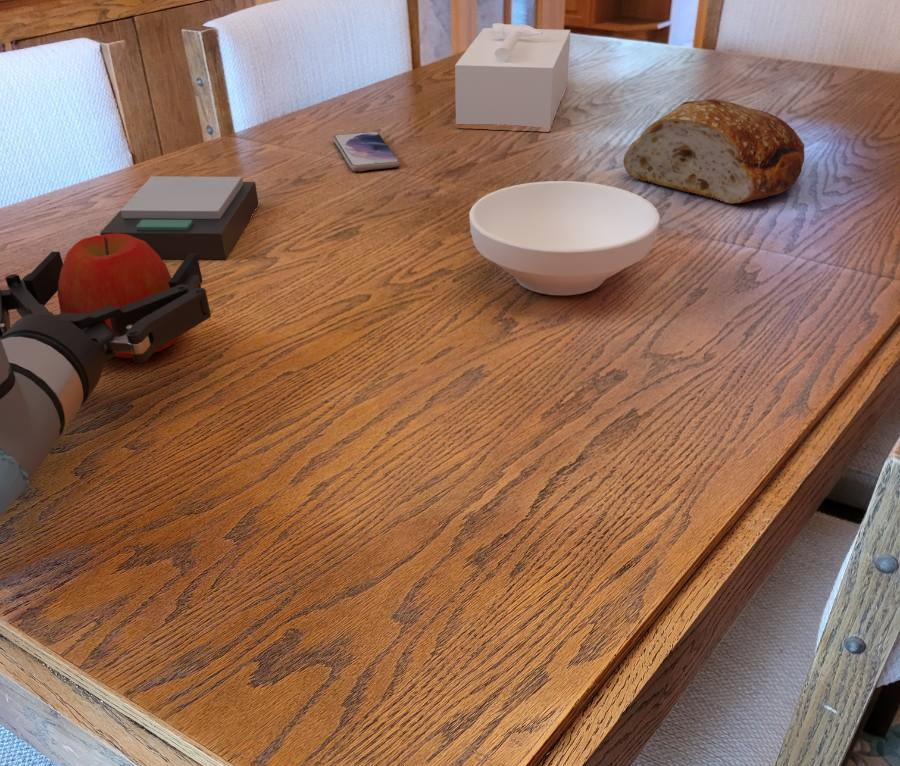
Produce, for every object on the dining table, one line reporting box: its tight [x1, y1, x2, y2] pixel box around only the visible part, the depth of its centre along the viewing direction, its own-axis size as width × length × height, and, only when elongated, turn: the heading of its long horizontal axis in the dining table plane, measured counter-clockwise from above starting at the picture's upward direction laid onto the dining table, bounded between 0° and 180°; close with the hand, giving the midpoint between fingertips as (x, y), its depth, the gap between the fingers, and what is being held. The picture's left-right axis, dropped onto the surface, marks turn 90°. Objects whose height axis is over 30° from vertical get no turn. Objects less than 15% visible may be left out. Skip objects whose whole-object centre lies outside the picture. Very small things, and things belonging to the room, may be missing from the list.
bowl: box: [468, 180, 661, 296], centre depth 95 cm, size 20×20×7 cm
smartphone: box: [332, 131, 401, 172], centre depth 129 cm, size 7×1×15 cm
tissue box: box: [454, 22, 571, 128], centre depth 142 cm, size 14×25×11 cm, turn 169°
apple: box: [57, 233, 179, 359], centre depth 85 cm, size 11×11×11 cm
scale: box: [99, 175, 260, 261], centre depth 109 cm, size 14×17×4 cm
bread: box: [623, 98, 805, 204], centre depth 116 cm, size 20×18×10 cm
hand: (127, 266), depth 87 cm, fingers open, 13 cm apart
